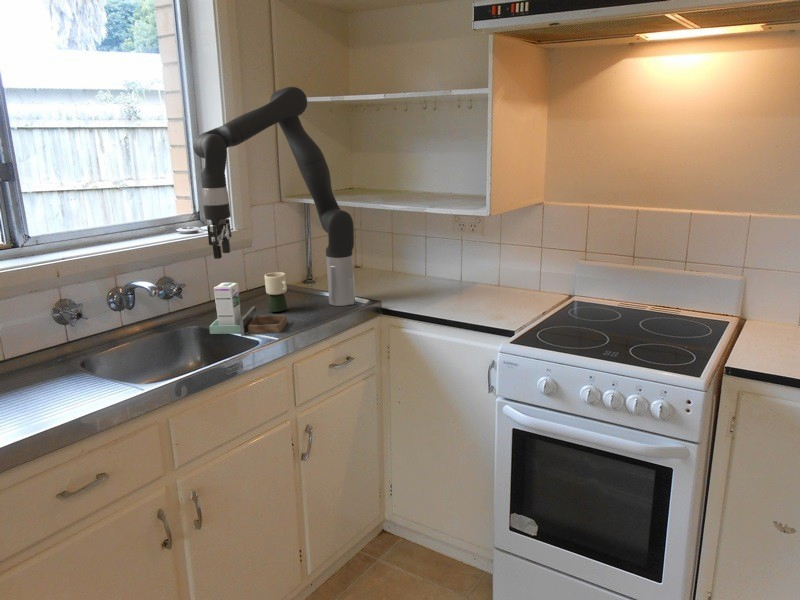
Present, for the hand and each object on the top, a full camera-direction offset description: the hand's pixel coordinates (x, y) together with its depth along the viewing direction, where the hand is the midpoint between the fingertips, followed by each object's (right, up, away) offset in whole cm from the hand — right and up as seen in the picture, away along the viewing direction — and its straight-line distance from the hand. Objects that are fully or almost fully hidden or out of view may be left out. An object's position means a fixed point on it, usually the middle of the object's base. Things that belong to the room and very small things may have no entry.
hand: (222, 255), depth 192 cm
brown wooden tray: (+13, -22, +6) cm, 27 cm away
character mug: (+13, -18, +24) cm, 32 cm away
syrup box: (+1, -23, +7) cm, 24 cm away
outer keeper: (+1, -23, +6) cm, 24 cm away
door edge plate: (+7, -23, +6) cm, 24 cm away
